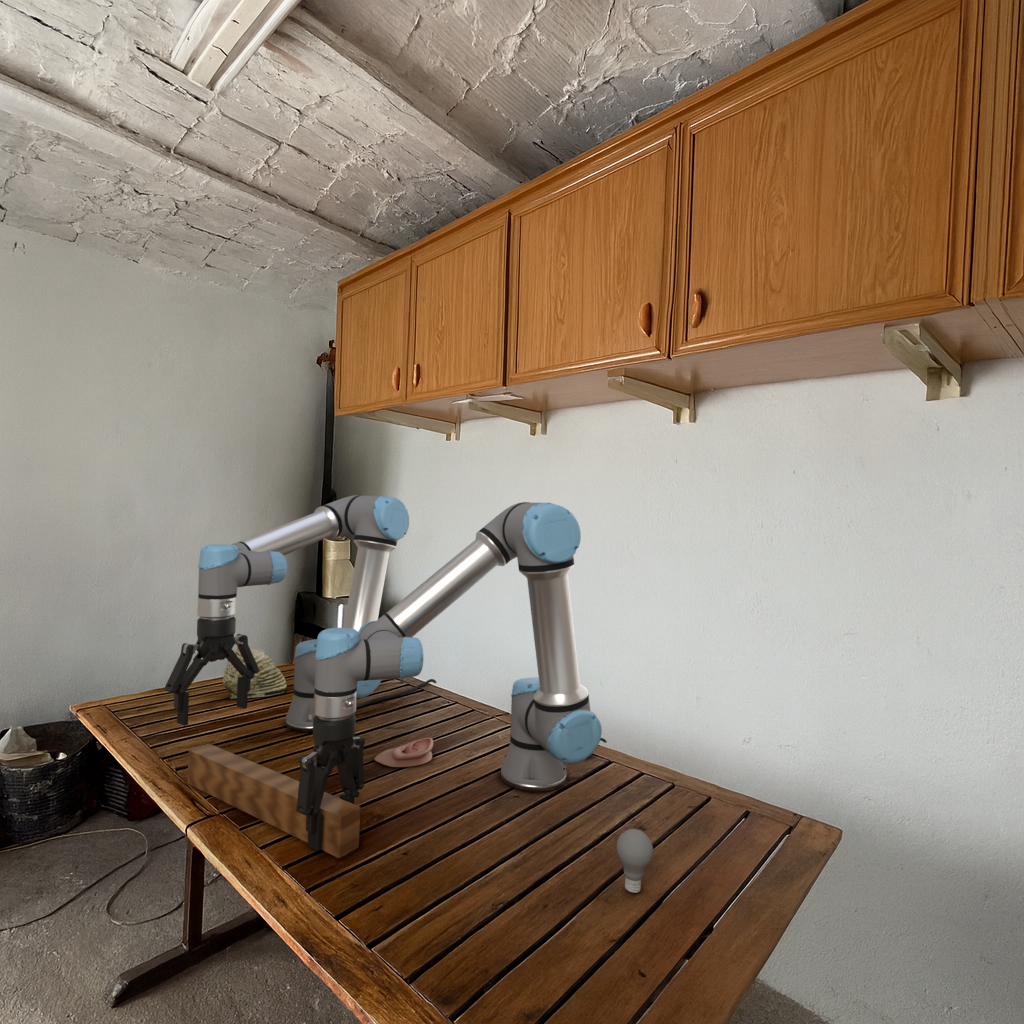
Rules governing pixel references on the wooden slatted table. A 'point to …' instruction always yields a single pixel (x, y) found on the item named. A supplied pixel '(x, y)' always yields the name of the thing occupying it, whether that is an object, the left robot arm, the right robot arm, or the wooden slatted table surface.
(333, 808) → the beam
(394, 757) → the beige rounded piece
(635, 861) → the light bulb
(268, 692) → the fossil
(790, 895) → the wooden slatted table surface
